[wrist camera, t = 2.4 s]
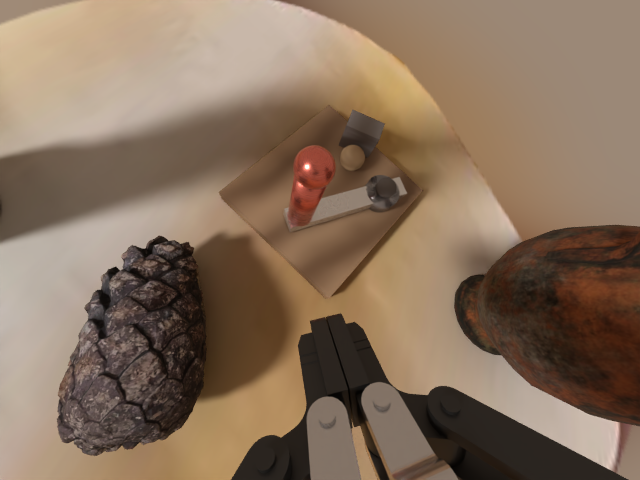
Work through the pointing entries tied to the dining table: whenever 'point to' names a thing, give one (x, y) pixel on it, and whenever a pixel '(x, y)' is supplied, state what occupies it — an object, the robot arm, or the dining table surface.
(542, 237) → the pitcher
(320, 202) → the lever
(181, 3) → the dining table surface
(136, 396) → the pine cone
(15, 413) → the dining table surface
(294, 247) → the base
